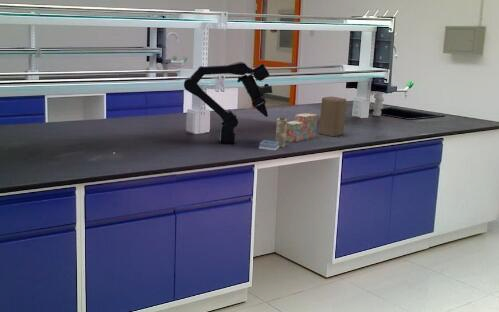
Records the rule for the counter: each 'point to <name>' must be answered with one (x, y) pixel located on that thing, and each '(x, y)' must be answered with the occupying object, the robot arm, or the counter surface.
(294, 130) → the stack of blocks
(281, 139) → the maple pillar block
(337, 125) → the block
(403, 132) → the counter surface
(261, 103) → the robot arm
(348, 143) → the counter surface
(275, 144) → the blue square tray
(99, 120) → the counter surface
